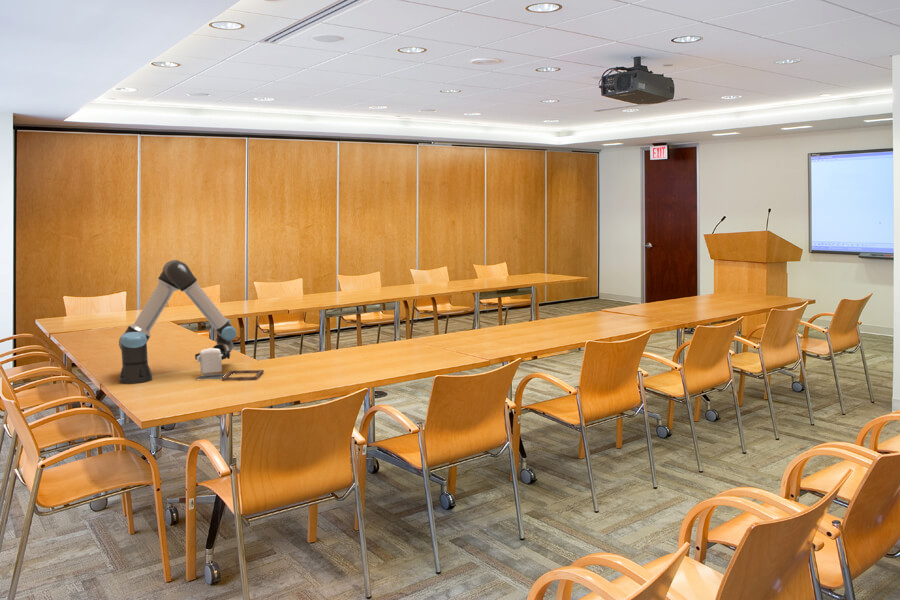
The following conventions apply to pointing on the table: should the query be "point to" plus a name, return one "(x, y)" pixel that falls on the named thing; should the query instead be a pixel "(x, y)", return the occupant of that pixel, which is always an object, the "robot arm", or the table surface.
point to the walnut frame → (259, 373)
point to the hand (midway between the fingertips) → (208, 359)
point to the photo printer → (210, 360)
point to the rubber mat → (211, 376)
